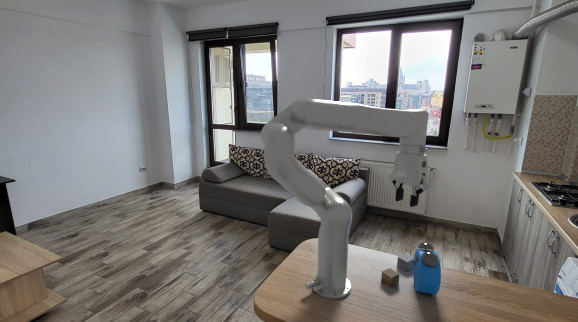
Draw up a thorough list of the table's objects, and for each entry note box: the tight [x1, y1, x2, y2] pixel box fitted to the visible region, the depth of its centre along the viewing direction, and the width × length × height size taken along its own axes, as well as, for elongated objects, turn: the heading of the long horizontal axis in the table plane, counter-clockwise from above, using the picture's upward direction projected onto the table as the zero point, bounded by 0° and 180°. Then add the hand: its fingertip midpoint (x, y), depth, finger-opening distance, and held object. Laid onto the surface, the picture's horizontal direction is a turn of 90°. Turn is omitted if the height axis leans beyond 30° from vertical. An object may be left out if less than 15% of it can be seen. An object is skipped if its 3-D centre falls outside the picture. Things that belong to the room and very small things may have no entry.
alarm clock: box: [412, 241, 442, 298], centre depth 94 cm, size 13×6×15 cm, turn 165°
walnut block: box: [380, 267, 401, 289], centre depth 98 cm, size 4×4×4 cm
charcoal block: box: [396, 253, 414, 273], centre depth 107 cm, size 4×4×4 cm
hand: (406, 202), depth 96 cm, fingers open, 4 cm apart
